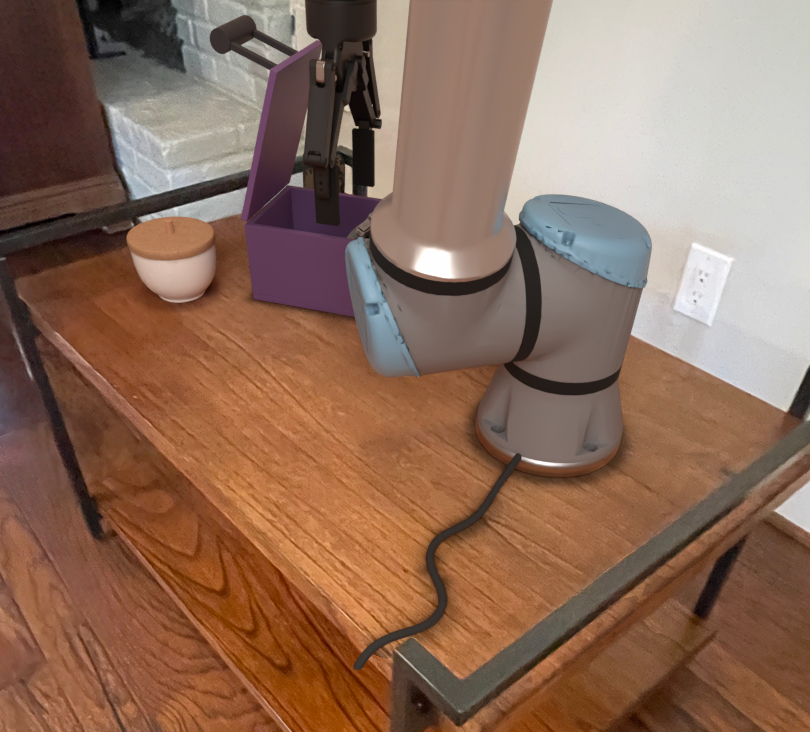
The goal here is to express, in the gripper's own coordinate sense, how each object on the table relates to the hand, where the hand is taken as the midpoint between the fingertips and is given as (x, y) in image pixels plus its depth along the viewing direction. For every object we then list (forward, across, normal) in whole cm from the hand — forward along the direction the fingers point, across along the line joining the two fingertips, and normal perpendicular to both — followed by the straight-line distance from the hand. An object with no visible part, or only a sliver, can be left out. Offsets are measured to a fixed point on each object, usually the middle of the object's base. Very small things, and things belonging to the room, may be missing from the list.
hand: (346, 203), depth 93 cm
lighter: (+10, 0, 0) cm, 10 cm away
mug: (+11, +15, +9) cm, 21 cm away
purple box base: (+11, 0, +3) cm, 12 cm away
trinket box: (+12, -8, +21) cm, 25 cm away
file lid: (-7, 0, +8) cm, 10 cm away
